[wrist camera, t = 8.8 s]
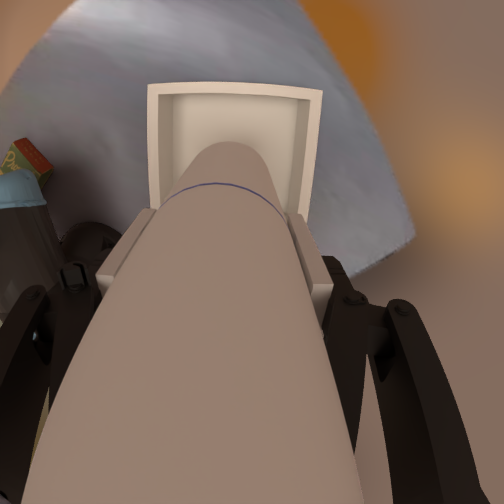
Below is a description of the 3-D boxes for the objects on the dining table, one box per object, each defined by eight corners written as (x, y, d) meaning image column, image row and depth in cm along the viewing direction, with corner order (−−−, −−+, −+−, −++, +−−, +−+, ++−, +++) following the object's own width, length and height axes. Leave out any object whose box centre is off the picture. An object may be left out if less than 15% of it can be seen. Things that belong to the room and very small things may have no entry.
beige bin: (167, 213, 41) (153, 238, 34) (166, 86, 33) (147, 84, 26) (293, 218, 42) (303, 244, 35) (306, 91, 34) (322, 90, 27)
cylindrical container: (278, 150, 24) (456, 512, 2) (259, 226, 27) (298, 554, 5) (194, 134, 23) (-57, 458, 1) (182, 212, 26) (78, 530, 5)
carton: (-5, 202, 38) (-19, 211, 35) (27, 135, 34) (11, 140, 30) (20, 231, 42) (7, 242, 38) (56, 167, 37) (41, 175, 33)
